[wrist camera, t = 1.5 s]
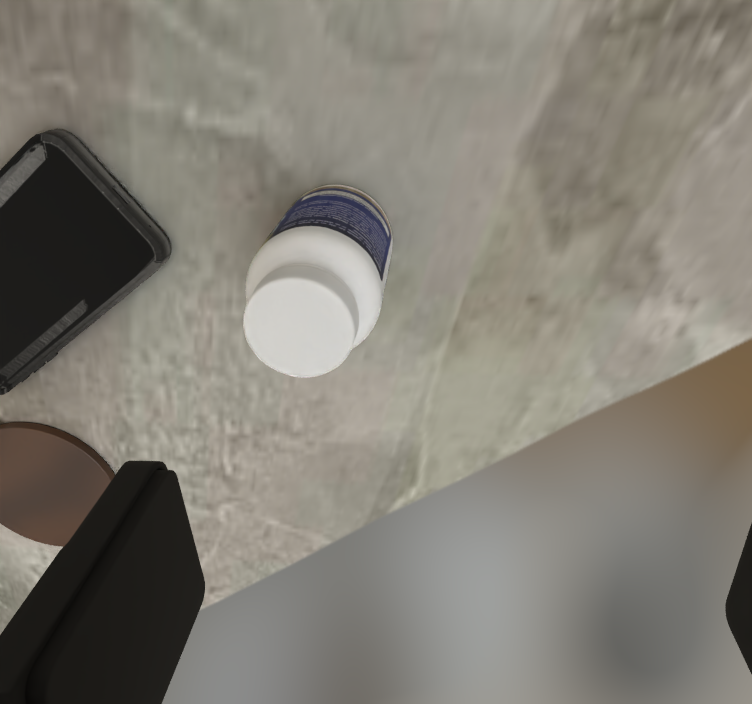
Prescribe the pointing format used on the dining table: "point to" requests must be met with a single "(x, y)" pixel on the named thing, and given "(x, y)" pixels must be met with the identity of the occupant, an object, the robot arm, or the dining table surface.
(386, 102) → the dining table surface
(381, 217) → the pill bottle
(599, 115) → the dining table surface
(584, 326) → the dining table surface
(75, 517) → the coaster
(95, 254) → the phone
